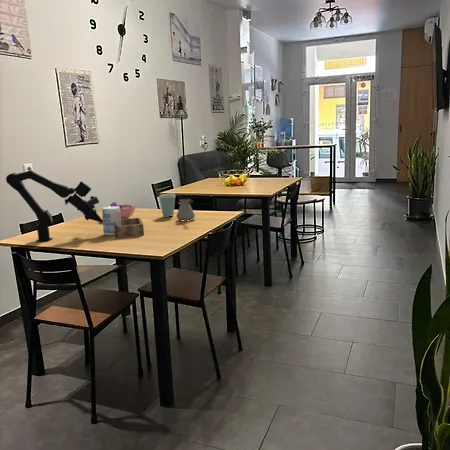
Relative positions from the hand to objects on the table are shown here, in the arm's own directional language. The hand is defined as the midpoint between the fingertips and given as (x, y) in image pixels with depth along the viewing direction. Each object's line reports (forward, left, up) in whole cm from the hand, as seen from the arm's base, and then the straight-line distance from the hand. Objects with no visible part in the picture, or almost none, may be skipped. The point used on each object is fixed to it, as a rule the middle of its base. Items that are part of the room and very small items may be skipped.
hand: (102, 221), depth 245 cm
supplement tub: (+1, -5, -7) cm, 9 cm away
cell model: (+43, +2, -8) cm, 43 cm away
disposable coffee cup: (+49, -28, -8) cm, 56 cm away
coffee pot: (+31, -43, -8) cm, 53 cm away
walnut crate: (+4, -13, -7) cm, 15 cm away
